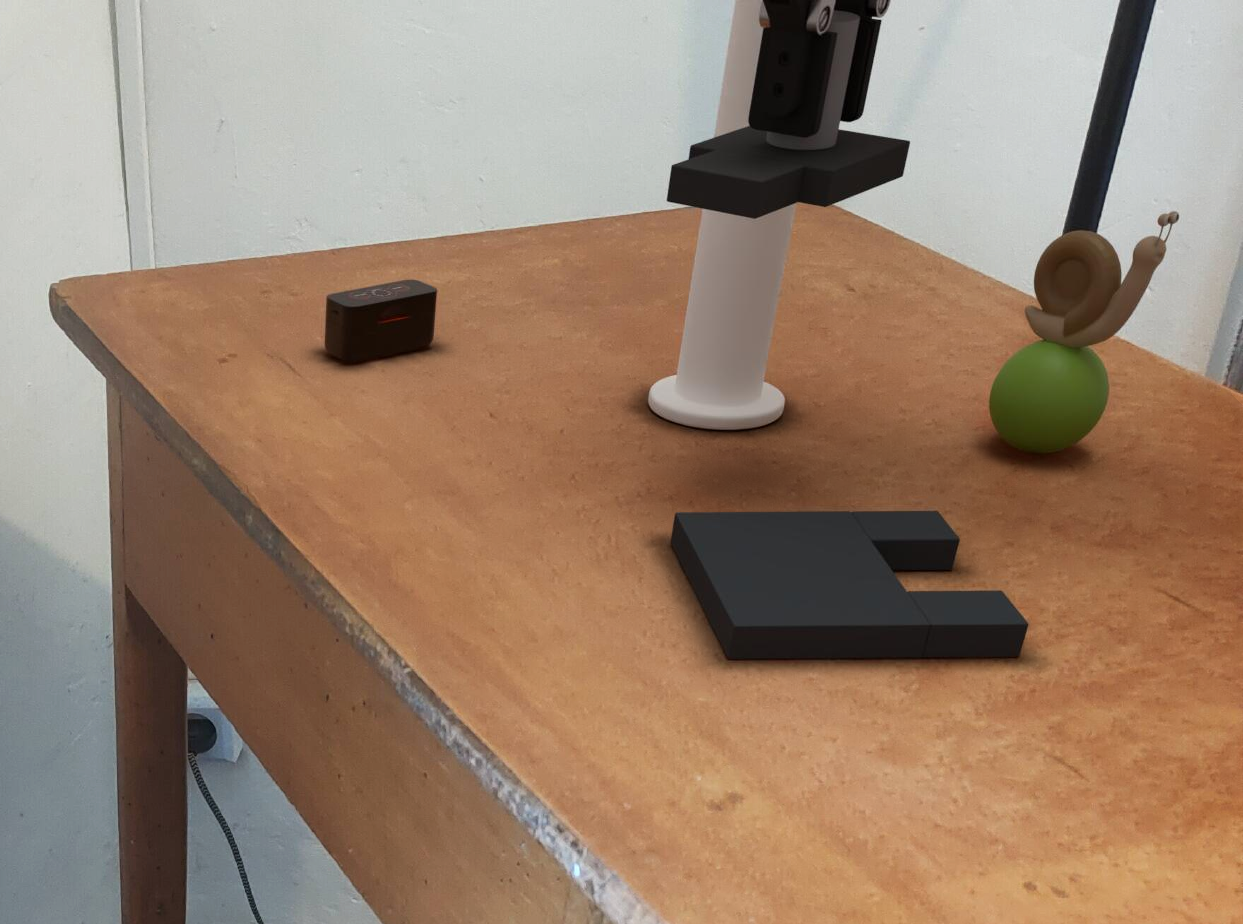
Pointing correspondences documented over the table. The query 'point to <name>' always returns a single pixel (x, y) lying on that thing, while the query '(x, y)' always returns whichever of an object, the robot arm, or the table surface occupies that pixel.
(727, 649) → the dock pad
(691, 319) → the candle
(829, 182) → the plug with cylindrical handle
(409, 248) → the table surface
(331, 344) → the black bluetooth speaker
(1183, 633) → the table surface
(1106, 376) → the snail figurine
